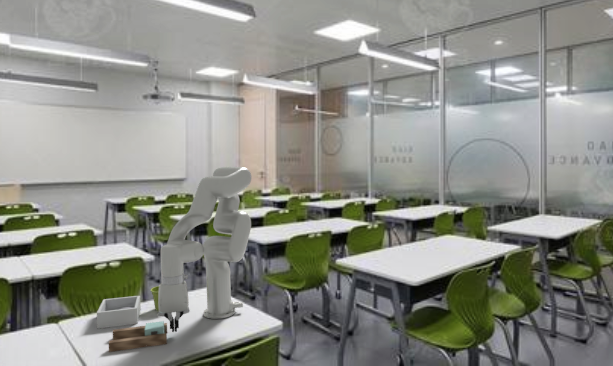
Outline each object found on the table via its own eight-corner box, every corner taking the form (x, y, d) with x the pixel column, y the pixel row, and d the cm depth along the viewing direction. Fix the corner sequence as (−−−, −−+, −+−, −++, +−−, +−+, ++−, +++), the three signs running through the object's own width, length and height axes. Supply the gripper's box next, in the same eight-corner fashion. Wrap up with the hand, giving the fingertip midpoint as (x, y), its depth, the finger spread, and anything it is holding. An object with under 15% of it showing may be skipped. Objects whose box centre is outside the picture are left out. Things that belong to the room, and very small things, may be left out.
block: (164, 334, 152) (163, 321, 152) (163, 341, 146) (163, 327, 146) (146, 337, 150) (146, 323, 150) (145, 344, 145) (144, 329, 144)
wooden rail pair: (167, 330, 155) (166, 320, 155) (166, 344, 144) (166, 332, 144) (113, 337, 150) (113, 326, 149) (109, 352, 139) (108, 340, 138)
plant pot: (164, 303, 185) (163, 283, 184) (179, 307, 180) (178, 287, 180) (146, 310, 177) (145, 289, 176) (161, 314, 172) (161, 293, 172)
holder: (140, 309, 178) (140, 295, 177) (137, 323, 162) (136, 308, 162) (104, 313, 174) (103, 299, 173) (97, 328, 158) (96, 312, 158)
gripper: (194, 274, 155) (195, 323, 156) (150, 278, 150) (152, 329, 151) (195, 280, 148) (196, 331, 149) (149, 284, 143) (151, 337, 144)
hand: (174, 330), depth 150 cm, fingers closed
